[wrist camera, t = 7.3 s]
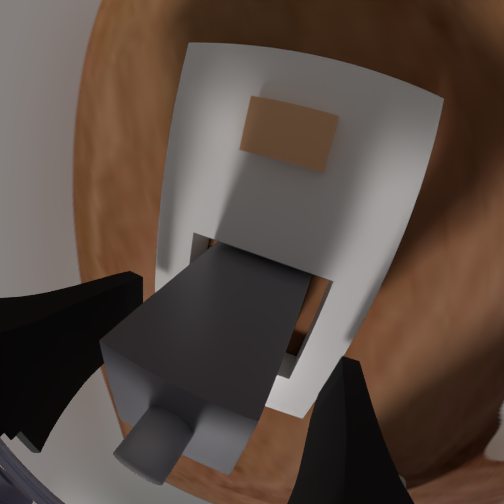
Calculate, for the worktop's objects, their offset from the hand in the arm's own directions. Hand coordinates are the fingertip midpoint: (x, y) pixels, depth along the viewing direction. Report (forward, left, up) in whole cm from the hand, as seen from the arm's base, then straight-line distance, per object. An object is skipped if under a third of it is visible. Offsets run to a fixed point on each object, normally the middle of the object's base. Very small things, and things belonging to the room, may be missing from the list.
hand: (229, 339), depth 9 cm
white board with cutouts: (-1, -1, -3) cm, 4 cm away
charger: (0, 0, -3) cm, 3 cm away
